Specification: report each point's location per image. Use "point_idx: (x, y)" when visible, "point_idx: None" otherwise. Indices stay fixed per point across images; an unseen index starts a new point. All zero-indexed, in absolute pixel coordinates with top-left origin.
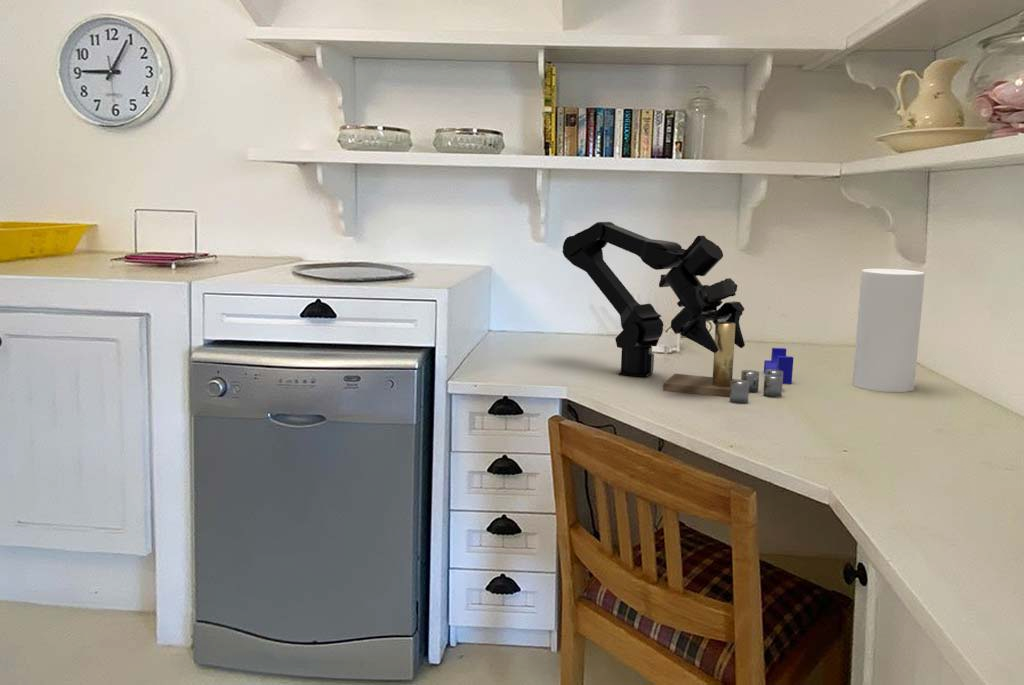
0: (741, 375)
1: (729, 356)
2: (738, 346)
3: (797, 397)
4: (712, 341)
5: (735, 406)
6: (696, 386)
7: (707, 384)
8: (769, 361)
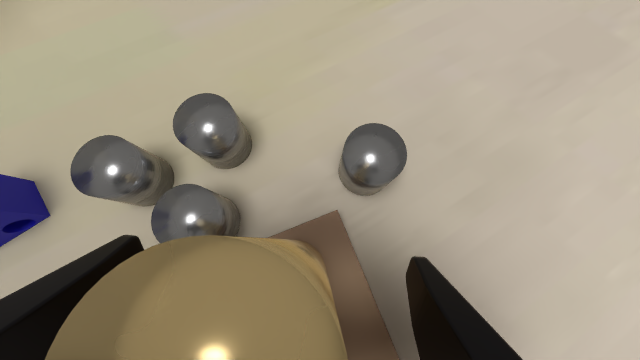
0: None
1: (299, 243)
2: None
3: (201, 91)
4: (466, 306)
5: (420, 148)
6: (384, 324)
7: None
8: None
